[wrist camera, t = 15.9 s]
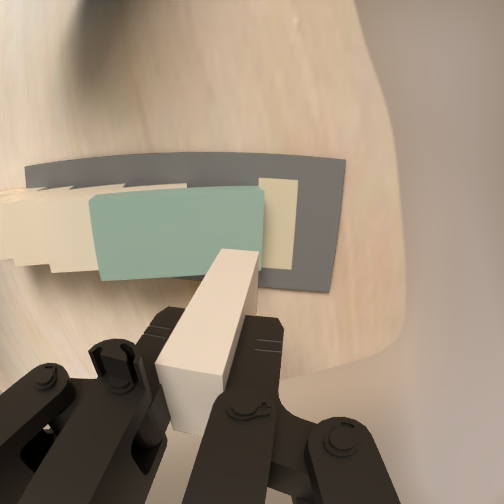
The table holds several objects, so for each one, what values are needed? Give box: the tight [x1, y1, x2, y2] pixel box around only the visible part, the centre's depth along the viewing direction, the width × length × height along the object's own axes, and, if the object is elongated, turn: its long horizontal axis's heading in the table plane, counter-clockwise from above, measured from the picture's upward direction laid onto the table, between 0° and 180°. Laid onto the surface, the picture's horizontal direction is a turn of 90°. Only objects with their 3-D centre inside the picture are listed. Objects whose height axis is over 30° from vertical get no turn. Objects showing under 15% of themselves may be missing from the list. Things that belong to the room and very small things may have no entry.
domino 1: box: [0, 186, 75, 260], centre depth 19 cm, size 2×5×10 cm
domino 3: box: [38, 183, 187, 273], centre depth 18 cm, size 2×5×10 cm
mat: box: [25, 152, 346, 292], centre depth 20 cm, size 26×9×1 cm, turn 88°
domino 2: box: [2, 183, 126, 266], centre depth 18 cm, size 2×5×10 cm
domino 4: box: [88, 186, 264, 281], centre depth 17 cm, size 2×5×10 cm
